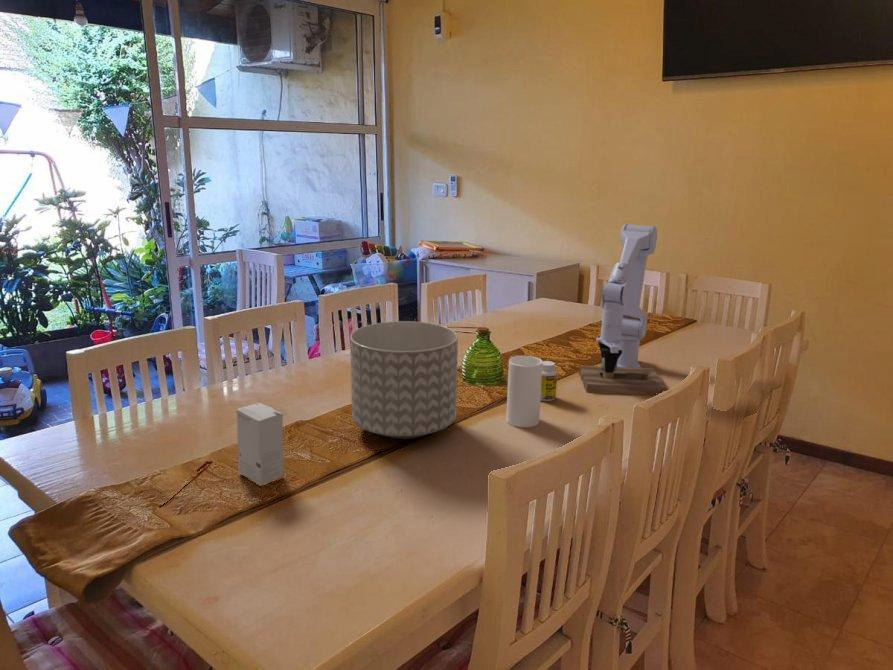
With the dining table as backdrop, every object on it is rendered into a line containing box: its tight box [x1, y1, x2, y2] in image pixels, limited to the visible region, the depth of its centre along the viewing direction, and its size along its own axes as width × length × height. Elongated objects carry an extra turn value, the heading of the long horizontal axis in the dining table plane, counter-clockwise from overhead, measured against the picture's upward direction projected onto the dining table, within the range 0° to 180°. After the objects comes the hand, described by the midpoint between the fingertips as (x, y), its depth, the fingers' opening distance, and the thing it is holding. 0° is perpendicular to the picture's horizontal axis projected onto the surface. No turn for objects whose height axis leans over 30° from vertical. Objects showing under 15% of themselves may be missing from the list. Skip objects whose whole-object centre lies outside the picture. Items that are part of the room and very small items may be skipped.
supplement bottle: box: [540, 360, 558, 402], centre depth 180 cm, size 6×6×10 cm
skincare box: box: [236, 402, 284, 485], centre depth 135 cm, size 8×6×15 cm
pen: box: [193, 460, 211, 474], centre depth 134 cm, size 1×19×1 cm, turn 170°
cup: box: [505, 355, 543, 429], centre depth 164 cm, size 8×8×16 cm
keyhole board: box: [578, 365, 667, 396], centre depth 193 cm, size 16×22×2 cm
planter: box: [349, 320, 459, 440], centre depth 157 cm, size 25×25×24 cm
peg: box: [601, 357, 618, 378], centre depth 193 cm, size 4×4×7 cm
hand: (607, 369), depth 193 cm, fingers closed on peg, 4 cm apart
